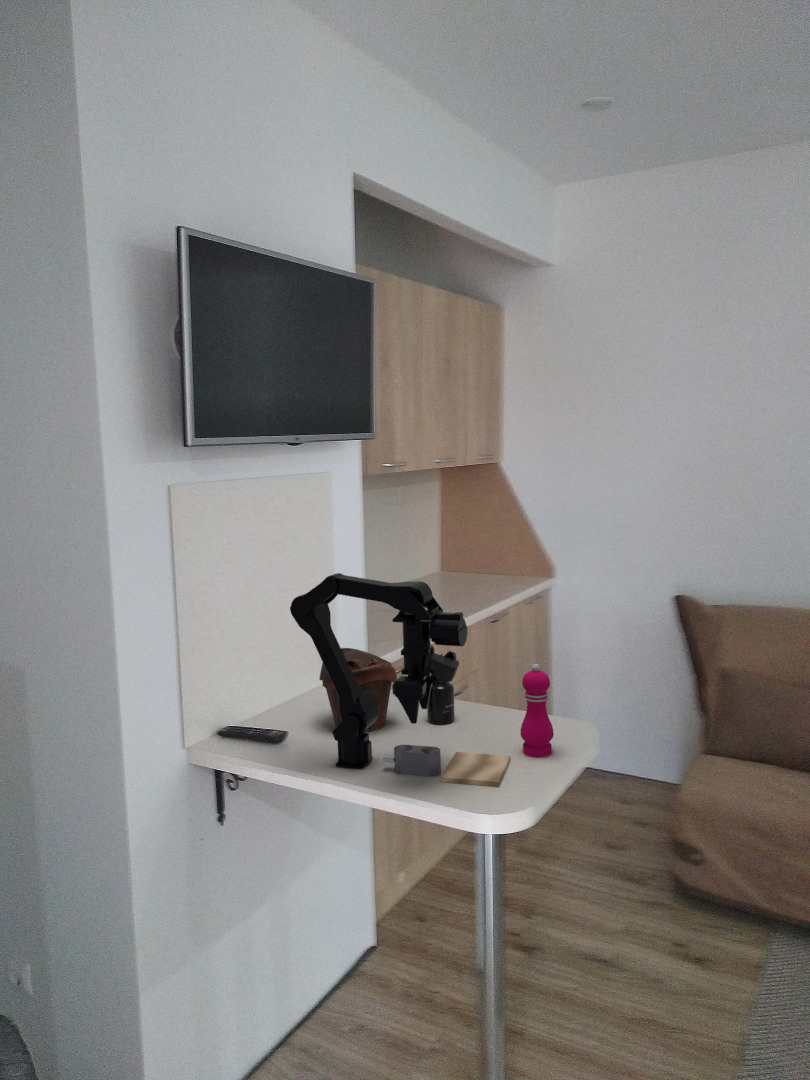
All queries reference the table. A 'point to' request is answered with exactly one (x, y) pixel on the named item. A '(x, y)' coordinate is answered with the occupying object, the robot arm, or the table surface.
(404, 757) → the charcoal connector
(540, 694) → the pepper mill
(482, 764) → the cork mat
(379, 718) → the brown tapered rounded piece
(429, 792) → the table surface
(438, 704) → the supplement bottle
